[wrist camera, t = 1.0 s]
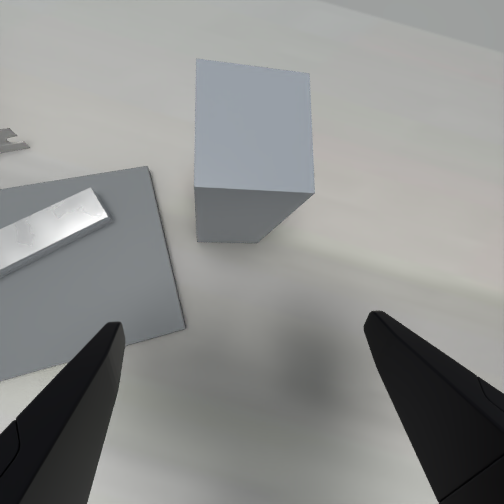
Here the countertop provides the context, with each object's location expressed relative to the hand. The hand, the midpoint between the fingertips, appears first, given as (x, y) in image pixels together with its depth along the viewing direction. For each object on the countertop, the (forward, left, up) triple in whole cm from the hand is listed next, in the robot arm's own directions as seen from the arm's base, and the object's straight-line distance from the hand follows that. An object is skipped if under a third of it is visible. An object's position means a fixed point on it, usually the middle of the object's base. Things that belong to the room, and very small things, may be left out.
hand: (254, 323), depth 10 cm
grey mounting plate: (+6, +12, -13) cm, 19 cm away
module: (+8, -2, -13) cm, 15 cm away
